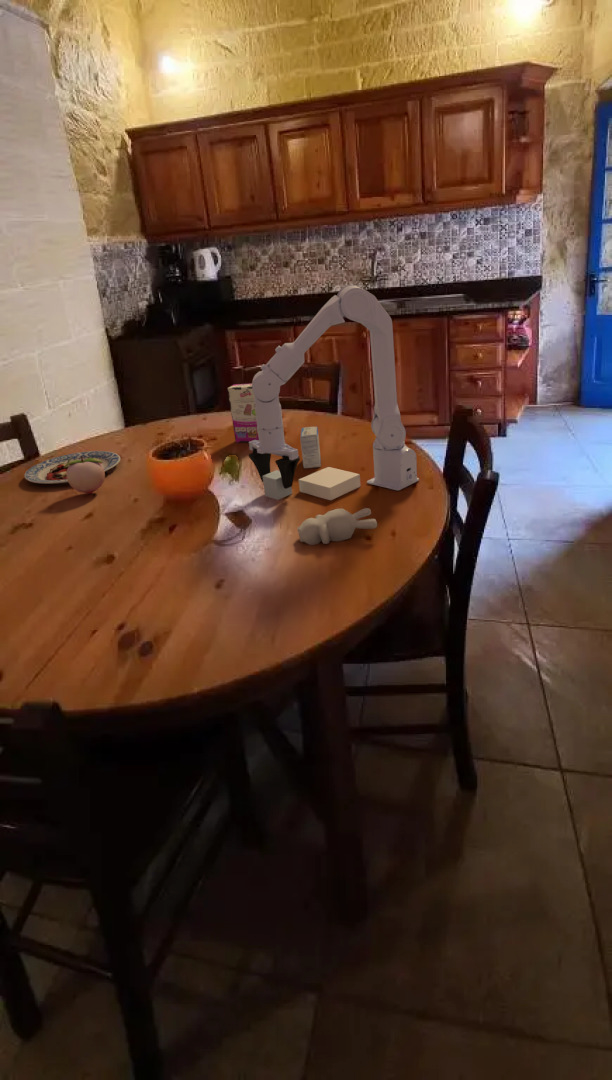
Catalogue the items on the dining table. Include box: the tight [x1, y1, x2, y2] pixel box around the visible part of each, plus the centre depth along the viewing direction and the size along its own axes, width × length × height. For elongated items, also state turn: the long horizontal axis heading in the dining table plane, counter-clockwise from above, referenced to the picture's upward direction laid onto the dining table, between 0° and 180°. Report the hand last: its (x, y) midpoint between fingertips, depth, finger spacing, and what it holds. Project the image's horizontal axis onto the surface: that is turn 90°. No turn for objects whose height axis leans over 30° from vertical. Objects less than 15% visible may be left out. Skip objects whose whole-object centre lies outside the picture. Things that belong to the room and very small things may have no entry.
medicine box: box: [300, 426, 322, 469], centre depth 169 cm, size 8×4×9 cm, turn 179°
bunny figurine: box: [296, 507, 378, 546], centre depth 128 cm, size 10×5×15 cm
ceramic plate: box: [24, 450, 121, 485], centre depth 183 cm, size 26×26×3 cm
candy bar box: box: [227, 383, 259, 444], centre depth 191 cm, size 11×5×16 cm, turn 73°
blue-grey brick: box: [262, 469, 293, 501], centre depth 152 cm, size 4×4×5 cm
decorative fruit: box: [64, 456, 106, 495], centre depth 164 cm, size 9×8×10 cm
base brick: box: [298, 466, 361, 501], centre depth 152 cm, size 10×10×3 cm
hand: (277, 483), depth 152 cm, fingers open, 7 cm apart
